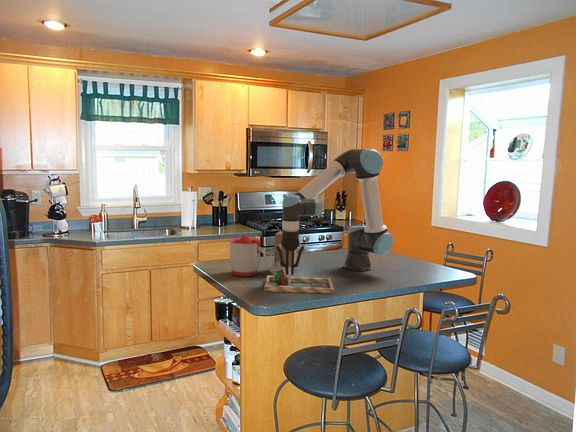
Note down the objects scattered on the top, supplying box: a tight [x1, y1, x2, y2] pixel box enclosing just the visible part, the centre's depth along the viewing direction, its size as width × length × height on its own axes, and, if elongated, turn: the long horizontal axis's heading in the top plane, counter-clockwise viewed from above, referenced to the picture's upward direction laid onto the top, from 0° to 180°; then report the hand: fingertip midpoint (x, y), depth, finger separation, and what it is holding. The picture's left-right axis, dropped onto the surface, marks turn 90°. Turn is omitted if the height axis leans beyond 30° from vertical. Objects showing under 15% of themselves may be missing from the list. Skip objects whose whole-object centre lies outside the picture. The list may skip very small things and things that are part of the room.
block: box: [273, 230, 298, 272], centre depth 230 cm, size 10×10×20 cm
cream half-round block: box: [269, 260, 289, 286], centre depth 202 cm, size 12×6×10 cm, turn 0°
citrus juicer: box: [228, 234, 265, 277], centre depth 221 cm, size 16×17×20 cm
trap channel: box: [263, 275, 335, 294], centre depth 203 cm, size 30×17×2 cm, turn 89°
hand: (289, 281), depth 203 cm, fingers closed
